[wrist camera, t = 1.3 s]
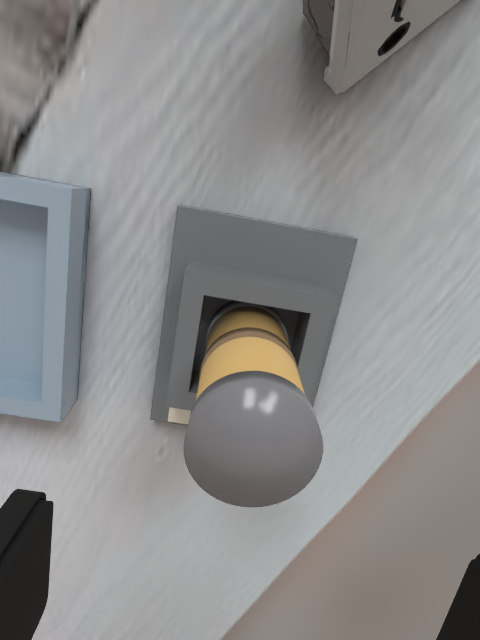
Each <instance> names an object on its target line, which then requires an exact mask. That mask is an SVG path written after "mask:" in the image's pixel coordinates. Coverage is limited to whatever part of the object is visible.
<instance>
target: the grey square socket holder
mask: <svg viewBox="0 0 480 640" xmlns="http://www.w3.org/2000/svg"><path fill="white" fill-rule="evenodd" d="M356 243H357V239H356V238H354V237H350V236H345V235H340V234H334V233H329V232H323V231H318V230H313V229H307V228H302V227H296V226H291V225H286V224H280V223H275V222H269V221H264V220H259V219H253V218H248V217H242V216H237V215H231V214H226V213H221V212H215V211H210V210H204V209H199V208H194V207H188V206H183V205H179V206H178V208H177V215H176V223H175V231H174V239H173V246H172V254H171V262H170V270H169V278H168V285H167V293H166V301H165V309H164V317H163V324H162V332H161V340H160V348H159V356H158V363H157V371H156V379H155V387H154V395H153V402H152V410H151V418H150V420H155V421H161V422H168V423H174V424H181V425H188V421H189V417H190V413H191V410H192V407H193V405H194V403H195V401H196V397H197V392H198V386H199V375H200V370H201V365H202V361H203V358H204V355H205V351H206V335H207V331H208V326H209V323H210V321H211V319H212V317H213V315H214V314H215V313H216V311H217V310H218V309H219V308H220V307H222V306H223V305H225V304H226V303H228V302H230V301H233V300H235V301H241V302H247V303H253V304H258V305H264V306H270V307H273V308H274V309H275V310H276V311H277V312H278V313H279V314H280V316H281V318H282V320H283V322H284V325H285V328H286V331H287V334H288V343H289V346H290V350H291V351H292V353H293V356H294V358H295V361H296V364H297V367H298V371H299V377H300V380H301V384H302V387H303V390H304V393H305V395H306V397H307V398H308V400H309V401H310V403H311V406H312V408H313V405H314V401H315V397H316V394H317V390H318V386H319V382H320V379H321V375H322V371H323V367H324V364H325V360H326V356H327V352H328V349H329V345H330V341H331V337H332V333H333V330H334V326H335V322H336V318H337V315H338V311H339V307H340V303H341V300H342V296H343V292H344V288H345V285H346V281H347V277H348V273H349V270H350V266H351V262H352V258H353V254H354V251H355V247H356Z"/></svg>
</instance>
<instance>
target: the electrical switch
mask: <svg viewBox="0 0 480 640" xmlns="http://www.w3.org/2000/svg"><path fill="white" fill-rule="evenodd" d="M459 1H461V0H303V14H304V16H305V17H306V18H307V20H308V21H309V23H310V24H311V25H312V27H313V28H314V29H315V31H316V32H317V33H318V34H317V37H318V38H319V40H320V41H321V43H322V45H323V46H324V48H325V49H326V51H327V52H328V53H329V55H330V61H329V66H328V67H326V68H325V74H324V81H325V82H326V83H327V85H328V86H329V87H330V88H331V89H332V91H333V92H334V93H335V94H339V93H343V92H345V91H346V90H348V89H349V88H350V87H352V86H353V85H354V84H356V83H357V82H358V81H359V80H361V79H362V78H363V77H364V76H366V75H367V74H368V73H369V72H371V71H372V70H373V69H375V68H376V67H377V66H378V65H380V64H381V63H382V62H383V61H385V60H386V59H387V58H388V57H390V56H391V55H392V54H394V53H395V52H396V51H397V50H399V49H400V48H401V47H402V46H404V45H405V44H406V43H407V42H409V41H410V40H411V39H412V38H414V37H415V36H416V35H418V34H419V33H420V32H421V31H423V30H424V29H425V28H426V27H428V26H429V25H430V24H431V23H433V22H434V21H435V20H437V19H438V18H439V17H440V16H442V15H443V14H444V13H445V12H447V11H448V10H449V9H450V8H452V7H453V6H454V5H456V4H457V3H458V2H459Z"/></svg>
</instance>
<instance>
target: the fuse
mask: <svg viewBox="0 0 480 640" xmlns="http://www.w3.org/2000/svg"><path fill="white" fill-rule="evenodd" d="M322 454H323V441H322V435H321V431H320V428H319V425H318V422H317V419H316V416H315V413H314V411H313V408H312V406H311V403H310V401H309V400H308V398H307V397H306V395H305V393H304V390H303V387H302V384H301V380H300V377H299V371H298V367H297V364H296V361H295V358H294V356H293V353H292V351H291V350H290V346H289V343H288V334H287V331H286V328H285V325H284V322H283V320H282V318H281V316H280V314H279V313H278V312H277V311H276V310H275V309H274V308H273V307H270V306H264V305H258V304H253V303H247V302H241V301H235V300H233V301H230V302H228V303H226V304H225V305H223V306H222V307H220V308H219V309H218V310H217V311H216V313H215V314H214V315H213V317H212V319H211V321H210V323H209V326H208V331H207V335H206V351H205V355H204V358H203V361H202V365H201V370H200V375H199V386H198V392H197V397H196V401H195V403H194V405H193V407H192V410H191V413H190V417H189V421H188V426H187V431H186V436H185V440H184V457H185V461H186V465H187V467H188V470H189V472H190V474H191V476H192V477H193V479H194V480H195V481H196V483H197V484H198V485H199V486H200V487H201V488H202V489H203V490H204V491H206V492H207V493H208V494H210V495H211V496H213V497H215V498H216V499H218V500H221V501H223V502H225V503H229V504H232V505H236V506H242V507H262V506H269V505H273V504H277V503H279V502H282V501H285V500H287V499H289V498H291V497H292V496H294V495H296V494H297V493H299V492H300V491H301V490H302V489H303V488H305V487H306V485H307V484H308V483H309V482H310V481H311V480H312V478H313V477H314V476H315V474H316V472H317V470H318V468H319V465H320V463H321V459H322Z"/></svg>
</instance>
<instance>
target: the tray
mask: <svg viewBox="0 0 480 640" xmlns="http://www.w3.org/2000/svg"><path fill="white" fill-rule="evenodd" d="M90 196H91V188H86V187H80V186H75V185H69V184H64V183H59V182H53V181H48V180H42V179H37V178H32V177H26V176H21V175H15V174H10V173H5V172H0V414H7V415H14V416H21V417H27V418H34V419H41V420H47V421H54V422H61V420H62V419H63V418H64V416H65V415H66V414H67V412H68V411H69V410H70V408H71V407H72V406H73V404H74V403H75V402H76V400H77V398H78V383H79V367H80V352H81V336H82V321H83V305H84V290H85V274H86V258H87V243H88V227H89V212H90Z"/></svg>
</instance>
